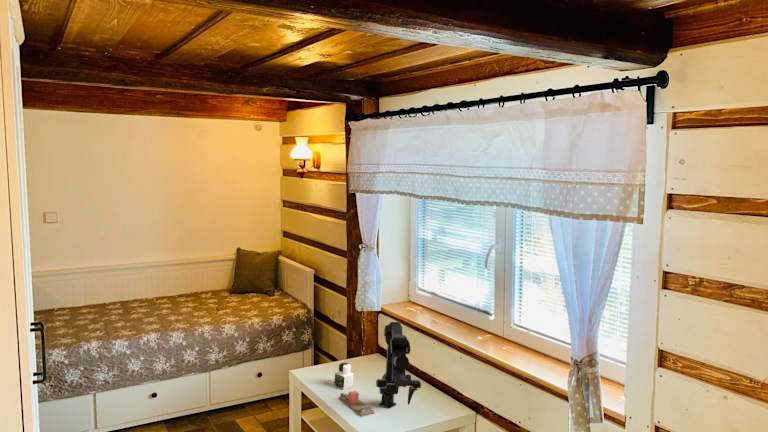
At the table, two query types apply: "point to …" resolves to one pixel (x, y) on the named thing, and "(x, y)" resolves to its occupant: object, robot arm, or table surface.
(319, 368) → the table surface
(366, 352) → the table surface
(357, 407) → the plank
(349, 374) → the cream yellow box
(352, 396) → the tab
